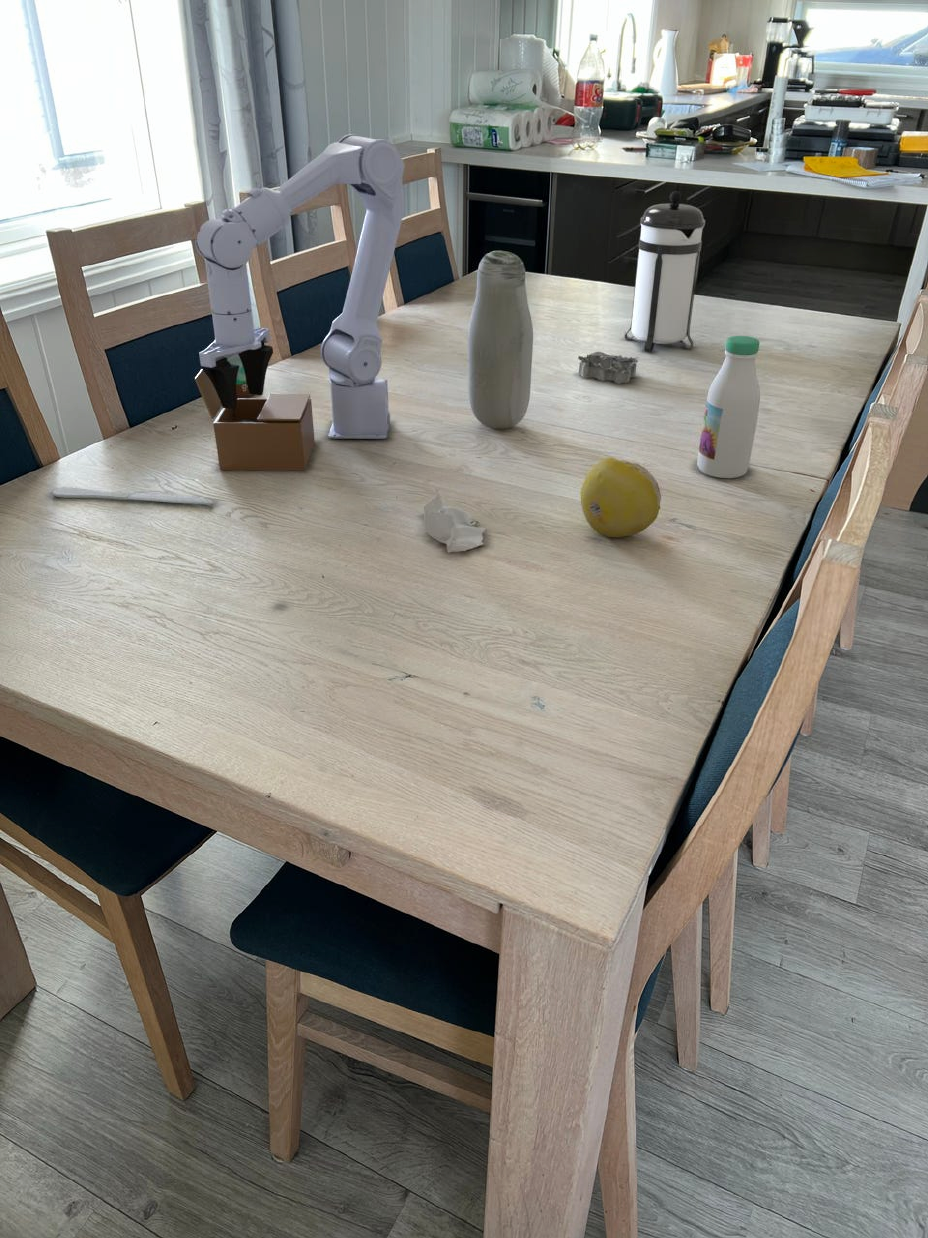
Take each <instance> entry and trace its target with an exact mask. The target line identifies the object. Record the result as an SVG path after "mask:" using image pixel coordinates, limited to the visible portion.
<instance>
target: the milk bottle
mask: <svg viewBox="0 0 928 1238" xmlns="http://www.w3.org/2000/svg"><path fill="white" fill-rule="evenodd" d="M759 349H760V340H759V339H758V338H756V337H753V336H748V335H732V336H729V337H728V338H726V340H725V350H724V354H725V358H724V361H723V364H722V365H721V368H720V370H719V371H718V373H717V375H715V377H714V379H713V381H712V383H711V385H710V387H709V390H708V393H707V398H706V402H705V408H704V414H703V421H702V427H701V433H700V440H699V447H698V453H697V460H696V466H697V469H698V470H699V471H700V472H701V473H703V474H705V475H708V476H711V477H714V478H720V479H735V478H740V477H743V476H744V475H745V474H746V473H747V472H748V471H749V467H750V463H751V457H752V451H753V447H754V446H753V445H754V440H755V435H756V430H757V429H756V428H757V423H758V416H759V410H760V405H761V387H760V383H759V379H758V376H757V372H756V371H757V370H756V358H757V357H758V352H759Z"/></svg>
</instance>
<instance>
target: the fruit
mask: <svg viewBox="0 0 928 1238" xmlns="http://www.w3.org/2000/svg"><path fill="white" fill-rule="evenodd" d="M585 475H586V476H585V477H584V480H583V482H582V485H581V489H580V505H581V510H582V512H583V517H584V518H585V520H586V522H587V523H588V525H589V526H590V527H591V528H592V530H593V531H595V532H596V533H597V534H599V535H601V536H604V537H607V538H624V537H629V536H633V535H636V534H639V533H642V532H643V531H644V530H646V529H648V528H649V527H650V526H651V525H652V524H653V523H654V522H655V521H656V520H657V518H658V516H659V511H660V510H661V502H662V501H661V500H662V493H661V489H660V486H659V483H658V481H657V480H656V479H655V477H654V476H653V474H652V473H651V472H649V470H648V469H647V468H645V467H644V466H642V465H641V464H639V463H635V462H631V461H627V460H619V459H617V458H615V457H607V458H604V459H602V460H599V461H598V462H596V464H594V465H593V466H592V467H591V468H590V470H589V471H588V472H587V474H585Z"/></svg>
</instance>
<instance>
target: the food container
mask: <svg viewBox="0 0 928 1238" xmlns="http://www.w3.org/2000/svg"><path fill="white" fill-rule="evenodd" d="M227 361H228V362H230V364H234V365H239V366H240V367H239V370H238V374H237V381H236V393H237V398H253V397H255V395H254V394H250V393H249V390H248V387H247V382H246V377H245V372H244V368H243V365H242V362H241V359H240V357H239V355H238V354H237V355H234V356H232V357H230V358H228V359H227Z"/></svg>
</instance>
